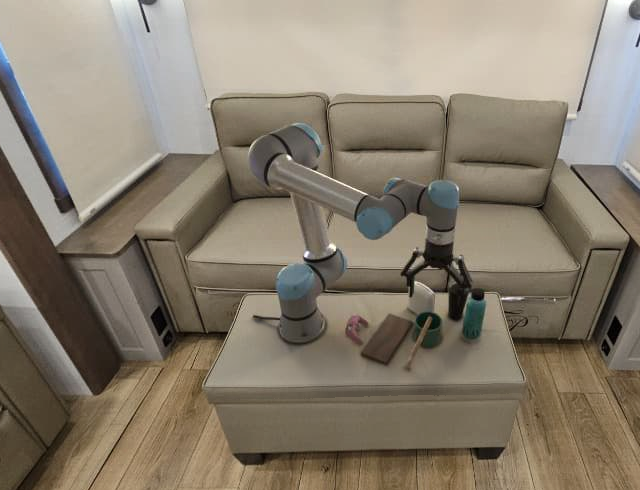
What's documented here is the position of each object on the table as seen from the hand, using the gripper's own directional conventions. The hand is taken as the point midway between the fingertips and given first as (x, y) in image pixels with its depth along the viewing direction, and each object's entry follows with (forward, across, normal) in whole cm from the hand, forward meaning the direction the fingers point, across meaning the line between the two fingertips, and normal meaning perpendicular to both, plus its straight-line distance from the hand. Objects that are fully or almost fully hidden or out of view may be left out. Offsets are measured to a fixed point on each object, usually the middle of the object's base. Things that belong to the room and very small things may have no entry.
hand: (434, 298), depth 124 cm
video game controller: (+23, -25, +1) cm, 34 cm away
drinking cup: (+23, +6, +19) cm, 30 cm away
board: (+23, -14, +2) cm, 27 cm away
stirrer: (+17, -3, -2) cm, 18 cm away
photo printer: (+23, -7, +17) cm, 30 cm away
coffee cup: (+23, -2, +6) cm, 24 cm away
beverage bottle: (+23, +12, +10) cm, 28 cm away
